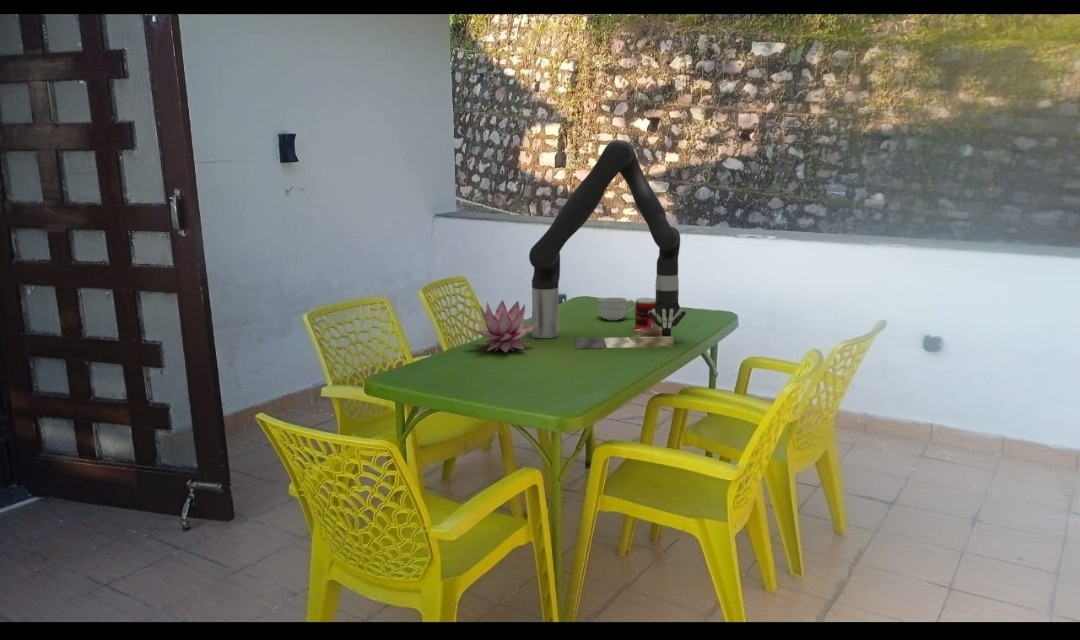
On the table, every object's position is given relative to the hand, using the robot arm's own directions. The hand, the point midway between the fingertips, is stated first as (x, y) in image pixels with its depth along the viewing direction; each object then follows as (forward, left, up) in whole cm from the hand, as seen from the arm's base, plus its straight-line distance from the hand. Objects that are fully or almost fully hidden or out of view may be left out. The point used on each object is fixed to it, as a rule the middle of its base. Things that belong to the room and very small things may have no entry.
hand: (666, 338), depth 272 cm
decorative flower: (-54, -5, -2) cm, 55 cm away
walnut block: (-5, 0, -1) cm, 5 cm away
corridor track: (-15, 0, -2) cm, 15 cm away
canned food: (-5, +19, -2) cm, 20 cm away
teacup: (-14, +36, -2) cm, 38 cm away
